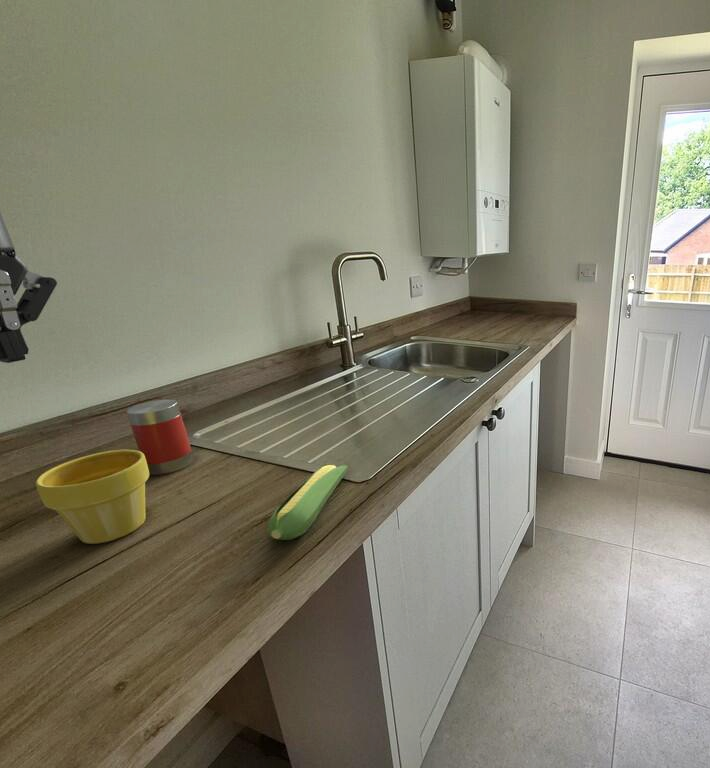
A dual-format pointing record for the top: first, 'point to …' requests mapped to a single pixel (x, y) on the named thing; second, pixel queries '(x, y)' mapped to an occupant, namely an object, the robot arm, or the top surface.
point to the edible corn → (305, 503)
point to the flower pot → (98, 494)
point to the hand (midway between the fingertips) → (12, 360)
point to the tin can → (161, 436)
